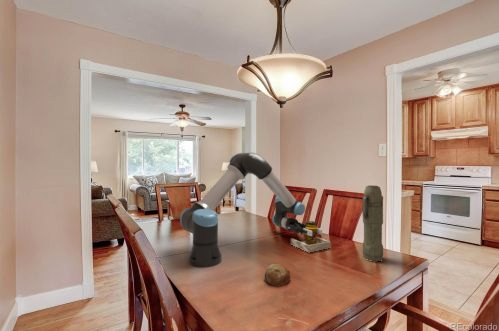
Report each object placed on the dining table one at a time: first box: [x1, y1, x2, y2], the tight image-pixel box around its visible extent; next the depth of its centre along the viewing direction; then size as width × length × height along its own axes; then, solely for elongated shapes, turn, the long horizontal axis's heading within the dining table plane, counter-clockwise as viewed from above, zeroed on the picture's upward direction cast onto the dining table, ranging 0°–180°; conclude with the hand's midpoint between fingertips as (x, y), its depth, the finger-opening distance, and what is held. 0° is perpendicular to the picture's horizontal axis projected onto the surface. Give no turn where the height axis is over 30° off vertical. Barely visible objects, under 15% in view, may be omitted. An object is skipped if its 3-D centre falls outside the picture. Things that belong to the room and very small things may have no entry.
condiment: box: [302, 220, 318, 245], centre depth 142 cm, size 7×8×12 cm
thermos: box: [361, 185, 384, 261], centre depth 124 cm, size 9×12×35 cm
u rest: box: [290, 236, 331, 254], centre depth 142 cm, size 15×15×4 cm
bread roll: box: [263, 263, 291, 286], centre depth 102 cm, size 10×10×8 cm
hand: (316, 232), depth 137 cm, fingers closed on condiment, 6 cm apart
